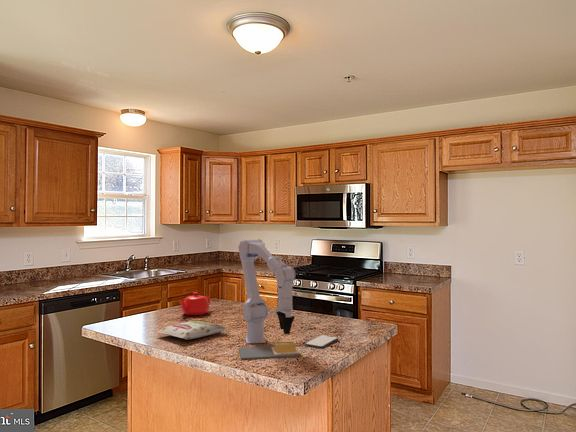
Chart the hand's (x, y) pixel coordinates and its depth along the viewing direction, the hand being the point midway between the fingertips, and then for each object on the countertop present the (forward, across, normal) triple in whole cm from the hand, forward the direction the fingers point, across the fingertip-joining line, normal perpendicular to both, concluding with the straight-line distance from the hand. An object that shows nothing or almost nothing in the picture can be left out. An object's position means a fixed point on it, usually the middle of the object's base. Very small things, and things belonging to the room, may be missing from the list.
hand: (285, 331), depth 168 cm
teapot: (+9, -77, -37) cm, 86 cm away
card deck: (+7, 0, 0) cm, 7 cm away
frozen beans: (+9, -31, -37) cm, 49 cm away
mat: (+8, 0, -6) cm, 10 cm away
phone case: (+9, -10, +18) cm, 22 cm away
